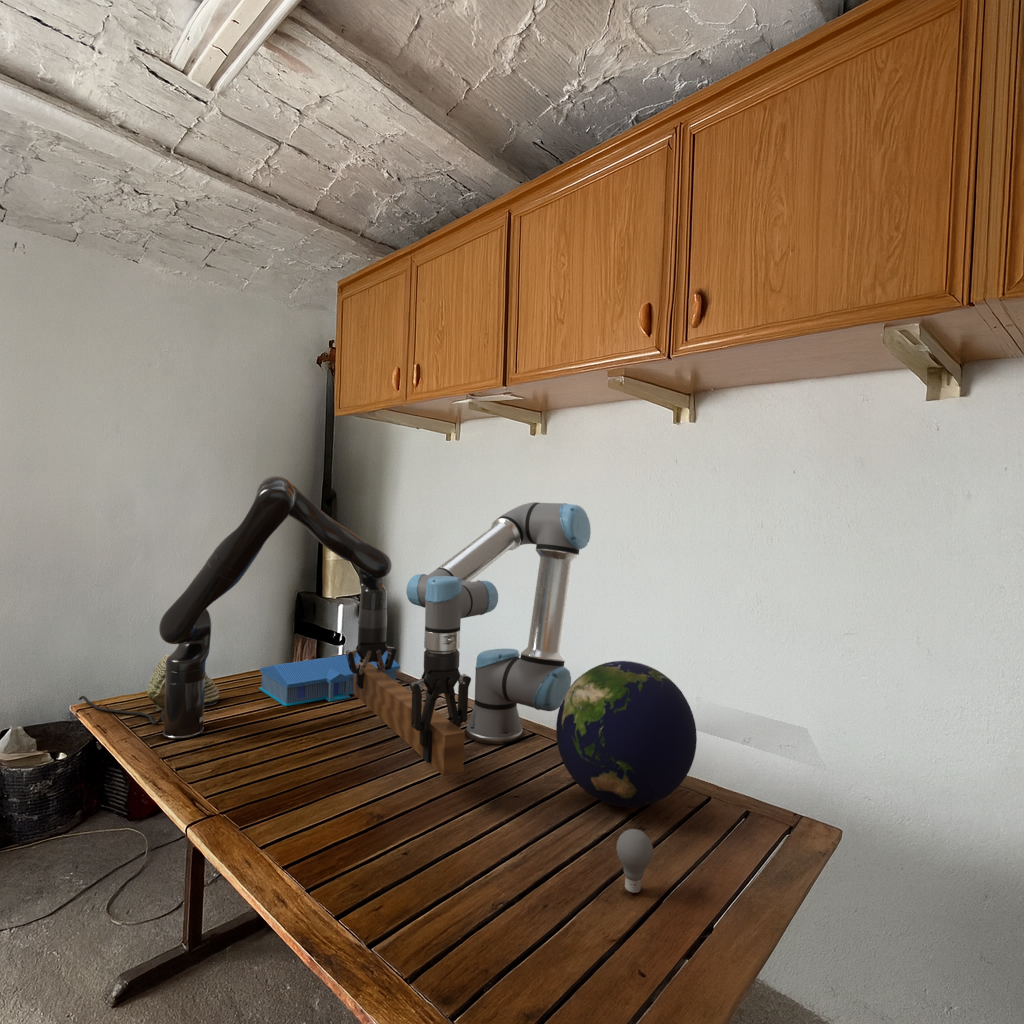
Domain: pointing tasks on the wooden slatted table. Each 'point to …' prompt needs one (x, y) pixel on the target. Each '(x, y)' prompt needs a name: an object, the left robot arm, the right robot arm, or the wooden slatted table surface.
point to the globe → (626, 734)
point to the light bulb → (634, 857)
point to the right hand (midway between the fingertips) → (438, 757)
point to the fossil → (158, 687)
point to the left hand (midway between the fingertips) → (370, 686)
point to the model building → (313, 679)
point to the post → (396, 713)
